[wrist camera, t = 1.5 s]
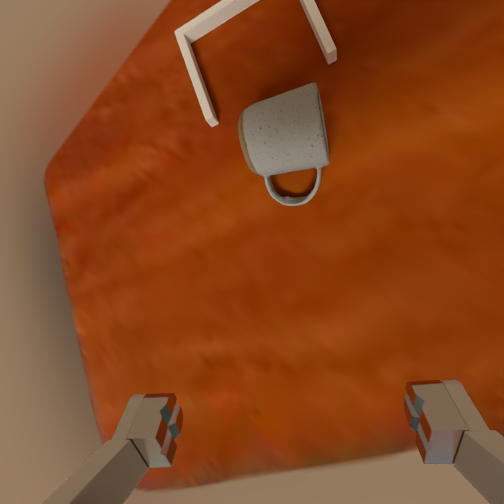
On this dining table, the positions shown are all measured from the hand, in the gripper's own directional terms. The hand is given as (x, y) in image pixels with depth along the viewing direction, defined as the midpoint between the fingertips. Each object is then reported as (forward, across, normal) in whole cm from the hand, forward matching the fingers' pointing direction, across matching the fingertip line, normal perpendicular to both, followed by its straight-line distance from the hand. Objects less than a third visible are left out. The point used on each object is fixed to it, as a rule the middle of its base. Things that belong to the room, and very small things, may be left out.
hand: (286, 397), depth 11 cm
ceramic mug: (+29, -2, -1) cm, 29 cm away
